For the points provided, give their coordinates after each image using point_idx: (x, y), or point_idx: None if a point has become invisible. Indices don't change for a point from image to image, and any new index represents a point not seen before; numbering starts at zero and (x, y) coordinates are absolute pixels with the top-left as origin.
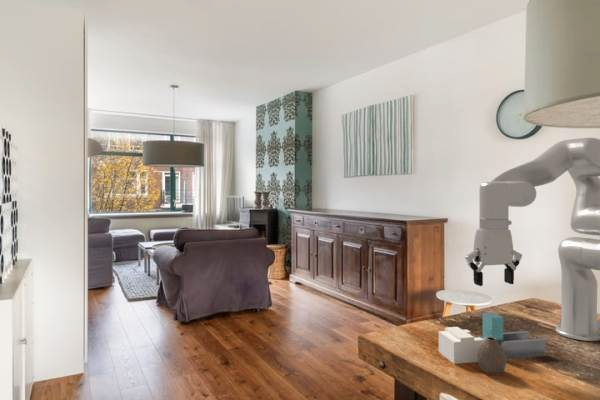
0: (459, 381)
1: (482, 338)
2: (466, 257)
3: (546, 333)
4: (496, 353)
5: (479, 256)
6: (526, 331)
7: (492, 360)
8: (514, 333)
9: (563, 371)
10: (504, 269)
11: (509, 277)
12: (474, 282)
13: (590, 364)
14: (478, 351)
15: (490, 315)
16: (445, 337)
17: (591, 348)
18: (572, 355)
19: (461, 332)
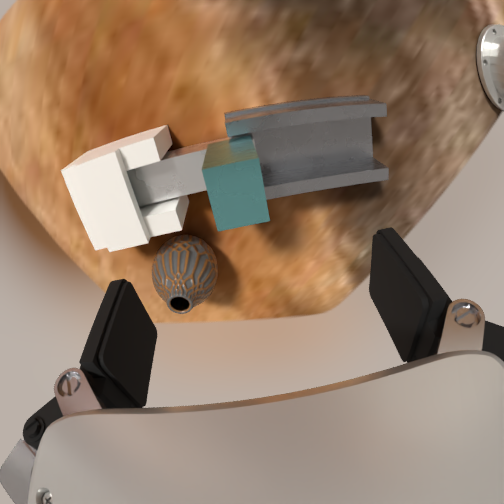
0: None
1: (202, 156)
2: (14, 482)
3: (455, 36)
4: (185, 306)
5: (104, 494)
6: (381, 108)
7: (177, 298)
8: (334, 119)
9: (347, 243)
10: (422, 301)
11: (386, 310)
12: (111, 286)
13: (420, 212)
14: (152, 276)
15: (225, 198)
16: (78, 207)
17: (478, 139)
18: (424, 168)
19: (117, 207)
